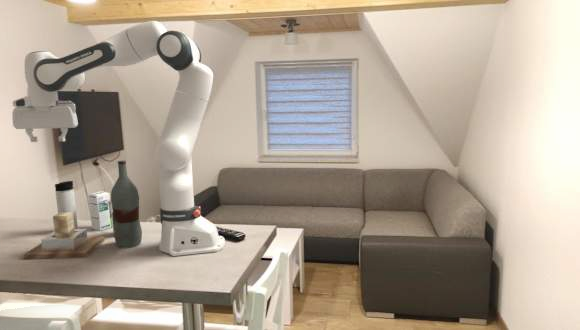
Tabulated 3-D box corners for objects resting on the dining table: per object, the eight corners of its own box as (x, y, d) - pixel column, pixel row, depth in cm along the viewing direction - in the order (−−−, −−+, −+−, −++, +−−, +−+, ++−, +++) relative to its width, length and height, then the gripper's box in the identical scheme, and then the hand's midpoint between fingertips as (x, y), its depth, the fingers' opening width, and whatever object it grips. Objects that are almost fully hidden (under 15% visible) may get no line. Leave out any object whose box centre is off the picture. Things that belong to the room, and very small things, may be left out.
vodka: (110, 248, 147) (102, 163, 142) (121, 239, 156) (114, 159, 151) (137, 248, 147) (129, 163, 142) (146, 239, 156) (140, 158, 151)
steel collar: (87, 239, 153) (86, 228, 152) (74, 250, 143) (73, 238, 142) (57, 240, 152) (56, 229, 152) (42, 251, 142) (41, 239, 141)
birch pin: (75, 242, 150) (72, 212, 148) (69, 247, 145) (66, 216, 143) (62, 242, 150) (59, 212, 148) (56, 247, 145) (52, 216, 143)
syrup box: (100, 231, 167) (96, 195, 164) (91, 228, 170) (87, 193, 167) (113, 227, 171) (110, 192, 169) (104, 225, 174) (100, 190, 172)
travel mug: (71, 233, 164) (65, 183, 161) (56, 232, 166) (50, 182, 162) (82, 228, 170) (77, 179, 167) (67, 227, 172) (62, 179, 168)
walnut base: (104, 240, 156) (104, 236, 156) (85, 256, 140) (85, 252, 140) (48, 242, 155) (48, 238, 155) (23, 259, 139) (23, 254, 139)
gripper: (78, 100, 147) (82, 139, 150) (18, 101, 147) (23, 141, 149) (70, 100, 141) (74, 142, 144) (7, 101, 140) (12, 143, 143)
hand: (48, 141), depth 146 cm, fingers open, 8 cm apart
